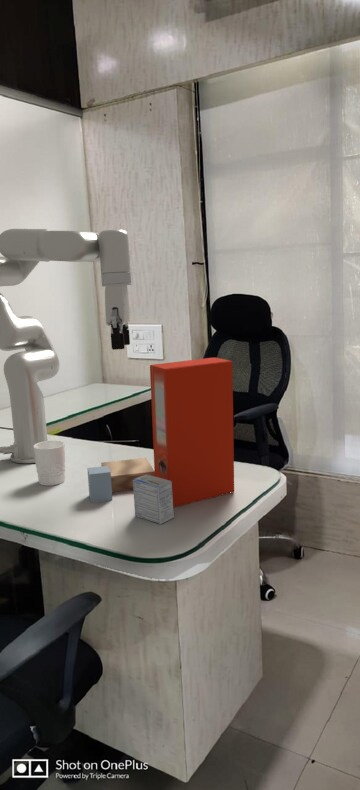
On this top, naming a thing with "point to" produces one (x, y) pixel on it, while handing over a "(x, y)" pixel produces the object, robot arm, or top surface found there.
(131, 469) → the pedestal
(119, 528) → the top surface
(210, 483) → the file binder
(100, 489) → the block
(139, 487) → the medicine box
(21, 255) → the robot arm
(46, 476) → the white cup
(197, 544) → the top surface
